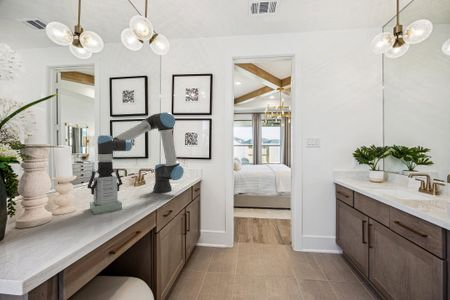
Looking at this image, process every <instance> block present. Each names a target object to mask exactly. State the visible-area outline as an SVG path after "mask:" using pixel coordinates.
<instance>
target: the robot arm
mask: <svg viewBox="0 0 450 300" xmlns="http://www.w3.org/2000/svg"><path fill="white" fill-rule="evenodd" d="M175 124H176V119H175V116H174V115H173V114H172V113H171V112H160V113H154V114H152V115H150V116H148V117H145V118H144V119H143V120H142V121H141V123H138V124H137V125H135V126H133V127H131V128H130V129H127V130H125V131H124V132H122V133H120V134H118V135H116V136H115V137H113V136H112V135H99V136H97V142H96V143H97V170H92V171H91V176H90V178H89V181H88V184H87V189H90V190H91V191H90V193H91V195H93V201H95V200H96V189H95V186H96V185H97V180H96V181H95V182H94V180H93V179H94V178H95V176H96V175H97V174H98V176H97V177H98V178H102V177H109V176H110V177H113V176H114V175H113V173H114V174H115V176H117V198H119V197H118V195H119V194H118V192H120V186H122V185H123V180H122V179H121V176H120V173H119V172H120V171H119V169H117V168H116V169H114V168H113V165H114V163H113V152H130V151H131V150H132V149H133V148H132V147H133V143H132V142H133V140H134V139H136V138H138V137H140V136H141V135H143V134H145V133H147V132H151V131H153V130H156V129H157V130H158V132H159V133H160V137H161V141H162V146H163V153H164V154H163V155H164V158H165V163H160V164H159V163H158V164H156V165H155V166H154V184H153V188H152V193H158V194H160V193H161V192H163V193H168V192H167V191H169V192H171V191H170V190H173V189H172V185H171V183H170V182H171V180H172V181H178V180H179V181H180V179H182V177H183V175H184V168H183V167H182V165H180V161H178V160H177V159H178V158H177V154H176V147H175V142H174V137H173V131H174V126H176V125H175Z"/></svg>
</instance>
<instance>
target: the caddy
mask: <svg viewBox="0 0 450 300" xmlns="http://www.w3.org/2000/svg"><path fill="white" fill-rule="evenodd" d="M89 208H90V209H89V210H90V211H91V212H92V214H93V215H98V214H99V215H100V214H104V213H109V212H114V211H120V210H123V202H122V201H120V200H119V199H118V203H114V204H108V205H102V206H95V205H94V200H92V201H90V202H89Z"/></svg>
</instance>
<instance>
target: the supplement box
mask: <svg viewBox="0 0 450 300" xmlns="http://www.w3.org/2000/svg"><path fill="white" fill-rule="evenodd" d="M112 176H113V177H110V176H109V177H102V178H98V176H96V177H95V176H94V179H93V183H94V182H95V181H96V180H97V185H96V186H95V189H96V200H95V201H94V200H93V201H94V205H95V206H102V205H108V204H114V203H118V200H119V199H118V197H117V192H118V191H117V182H118V179H117V176H116V175H115V176H114V175H112Z"/></svg>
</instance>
